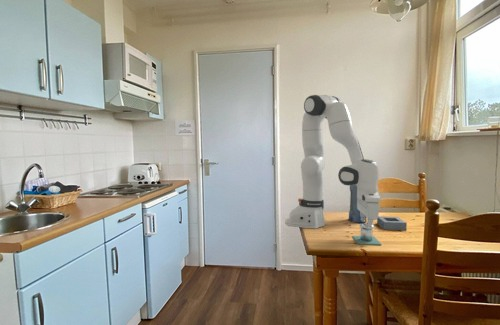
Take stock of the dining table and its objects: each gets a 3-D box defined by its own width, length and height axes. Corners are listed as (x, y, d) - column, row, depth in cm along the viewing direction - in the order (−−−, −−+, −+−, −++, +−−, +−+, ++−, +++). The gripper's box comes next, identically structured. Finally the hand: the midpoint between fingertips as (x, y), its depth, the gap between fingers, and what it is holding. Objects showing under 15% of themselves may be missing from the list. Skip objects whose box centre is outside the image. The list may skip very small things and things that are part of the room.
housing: (384, 229, 142) (384, 222, 142) (377, 223, 153) (377, 216, 153) (406, 230, 141) (406, 222, 141) (397, 224, 152) (397, 217, 152)
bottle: (347, 218, 164) (348, 169, 162) (364, 218, 163) (365, 169, 161) (350, 222, 155) (351, 170, 153) (368, 223, 153) (369, 171, 151)
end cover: (361, 241, 123) (361, 226, 123) (357, 237, 129) (357, 222, 129) (375, 242, 122) (375, 227, 122) (371, 237, 129) (371, 223, 128)
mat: (358, 244, 122) (358, 243, 122) (352, 236, 131) (352, 235, 131) (381, 245, 120) (381, 244, 120) (373, 237, 130) (373, 236, 130)
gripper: (354, 190, 135) (353, 217, 136) (366, 199, 115) (365, 230, 116) (367, 190, 135) (366, 218, 136) (382, 199, 114) (380, 231, 115)
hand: (366, 224), depth 126 cm, fingers open, 8 cm apart
